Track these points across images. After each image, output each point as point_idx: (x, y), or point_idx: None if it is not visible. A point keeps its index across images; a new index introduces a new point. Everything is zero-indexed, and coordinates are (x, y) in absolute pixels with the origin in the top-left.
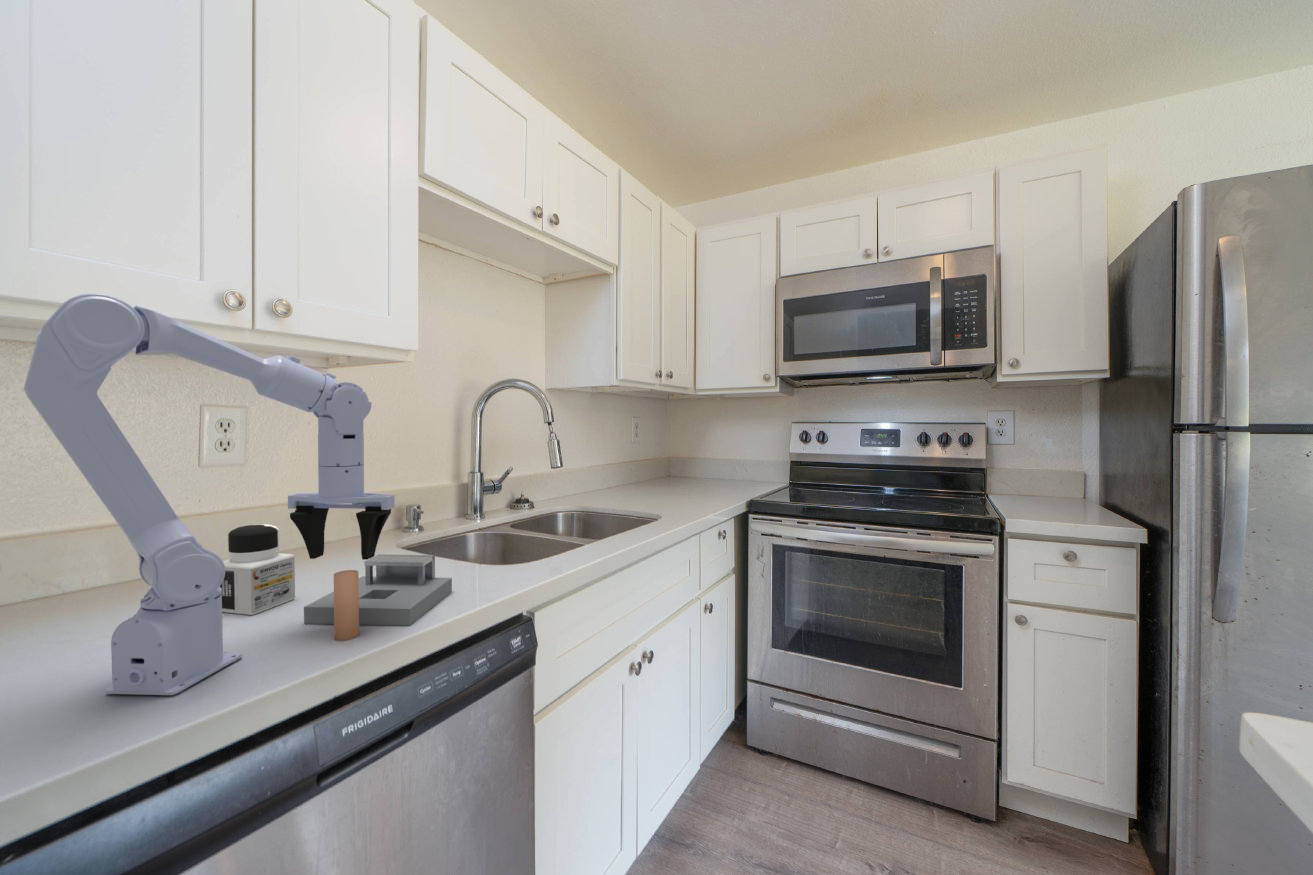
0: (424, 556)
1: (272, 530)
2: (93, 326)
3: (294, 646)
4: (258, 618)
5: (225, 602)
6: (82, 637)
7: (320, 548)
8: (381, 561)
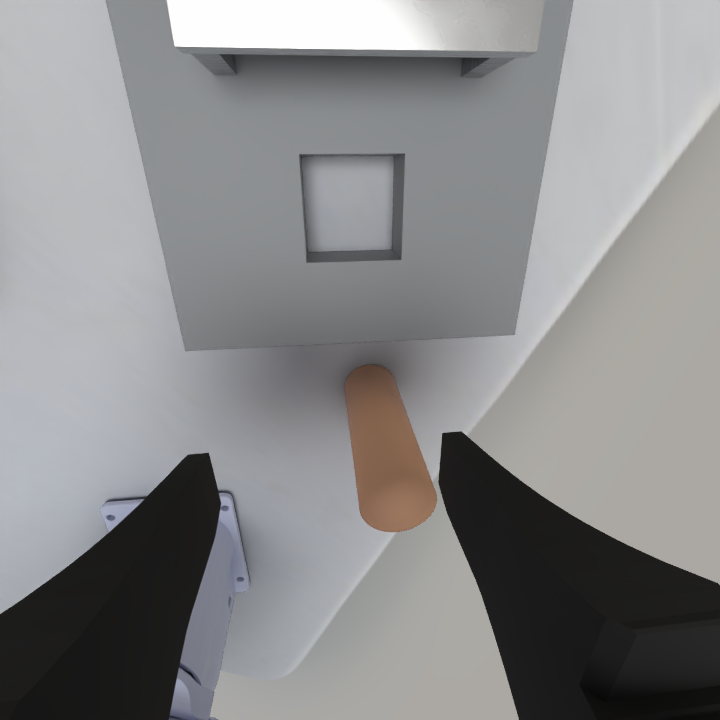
0: None
1: None
2: None
3: (290, 441)
4: (20, 307)
5: None
6: None
7: (200, 495)
8: (285, 45)
